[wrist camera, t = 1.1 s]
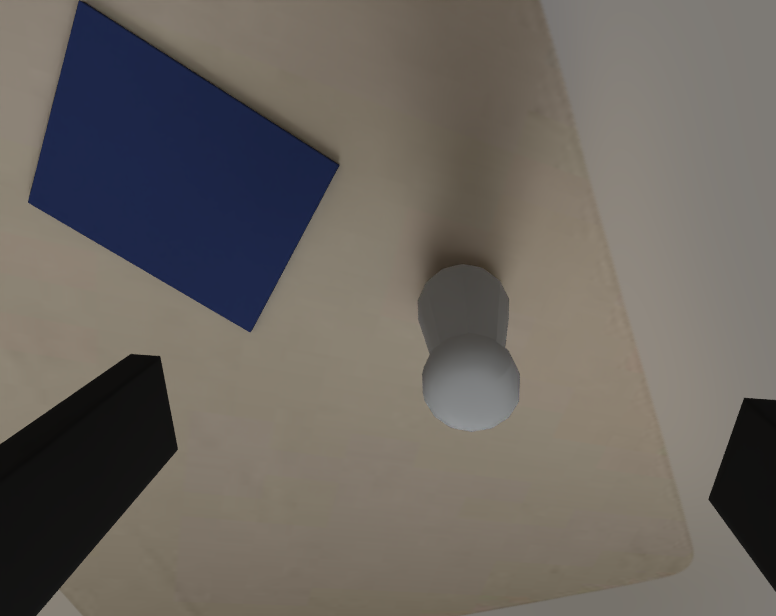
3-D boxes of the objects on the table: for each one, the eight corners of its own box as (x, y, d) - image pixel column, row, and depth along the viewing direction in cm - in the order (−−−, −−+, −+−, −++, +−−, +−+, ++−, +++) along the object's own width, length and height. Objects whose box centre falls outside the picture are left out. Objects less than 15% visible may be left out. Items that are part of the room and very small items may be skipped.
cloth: (83, 1, 27) (78, -1, 27) (339, 165, 29) (338, 165, 28) (32, 201, 32) (27, 202, 32) (251, 330, 34) (249, 332, 33)
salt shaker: (503, 334, 31) (538, 458, 19) (421, 335, 32) (407, 454, 20) (505, 253, 29) (547, 335, 17) (418, 256, 30) (400, 336, 18)
